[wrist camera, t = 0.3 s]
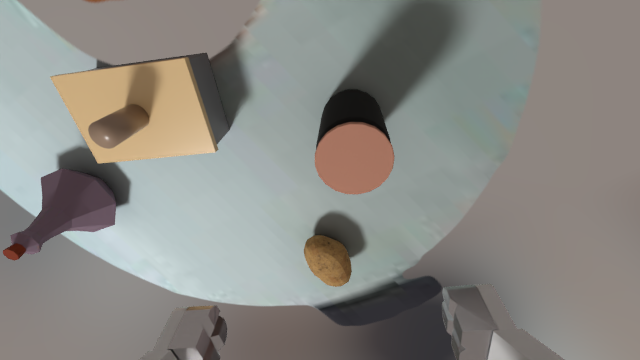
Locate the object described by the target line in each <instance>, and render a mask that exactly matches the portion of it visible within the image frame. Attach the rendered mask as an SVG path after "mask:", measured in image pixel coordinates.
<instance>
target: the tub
mask: <svg viewBox="0 0 640 360" xmlns="http://www.w3.org/2000/svg"><path fill="white" fill-rule="evenodd" d="M184 57H188V58H189V61H190V64H191V67H192V70H193V74H194V77H195V80H196V83H197V86H198V89H199V92H200V95H201V98H202V101H203V104H204V107H205V110H206V113H207V116H208V119H209V123H210V126H211V129H212V132H213V135H214V138H215V141H216V144H218V142H219V141H220V140H221V139H222V138H223V137H224V136H225V134H226V133H227V132H228V131H229V126H228V123H227V119H226V116H225V113H224V109H223V106H222V102H221V99H220V96H219V92H218V89H217V86H216V82H215V79H214V75H213V72H212V69H211V65H210V62H209V59H208V55H207V53H202V54H194V55H187V56H180V57H173V58H166V59H158V60H151V61H144V62H137V63H129V64H122V65H115V66H108V67H101V68H95V69H91V70H97V69H104V68H111V67H119V66H126V65H133V64H140V63H147V62H155V61H162V60H169V59H176V58H184ZM88 71H90V70H88Z"/></svg>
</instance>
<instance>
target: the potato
mask: <svg viewBox="0 0 640 360" xmlns="http://www.w3.org/2000/svg"><path fill="white" fill-rule="evenodd" d="M304 254H305V258H306V261H307V263H308V266H309V267H310V269H311V271H312V272H313V273H314V275H315V276H317V277H318V278H320V279H321V280H322V281H323V282H324V283H326V284H327V285H330V286H335V287H337V286H342V285H344V284H345V283H347V282H348V281H349V279H350V276H351V272H352V271H351V261H350V258H349V255H348V253H347V250H346V249H345V247H344V245H343V244H341V243H340V242H339V241H336V240H333V239H331V238H329V237H326V236H322V235H316V236H313V237H311V238H309V239H308V240H307V242H306V244H305V248H304Z"/></svg>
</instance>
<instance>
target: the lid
mask: <svg viewBox="0 0 640 360" xmlns="http://www.w3.org/2000/svg"><path fill="white" fill-rule="evenodd" d="M50 78H51V80H52V81H53V83H54V85H55V87H56V89H57V90H58V92H59V94H60V96H61V98H62V99H63V101H64V103H65V105H66V107H67V108H68V110H69V112H70V114H71V116H72V117H73V119H74V121H75V123H76V125H77V126H78V128H79V130H80V132H81V134H82V135H83V137H84V139H85V141H86V143H87V145H88V146H89V148H90V150H91V152H92V154H93V155H94V157H95V159H96V161H97V163H98V164H99V163H110V162H120V161H131V160H141V159H151V158H162V157H172V156H183V155H193V154H203V153H214V152H216V151H217V150H218V147H217V144H216V141H215V138H214V135H213V132H212V129H211V126H210V123H209V119H208V116H207V113H206V110H205V107H204V104H203V101H202V98H201V95H200V92H199V89H198V86H197V83H196V80H195V77H194V74H193V70H192V67H191V64H190V61H189V58H188V57H184V58H176V59H169V60H162V61H155V62H147V63H140V64H133V65H126V66H119V67H111V68H104V69H97V70H90V71H83V72H75V73H68V74H61V75H55V76H51V77H50Z"/></svg>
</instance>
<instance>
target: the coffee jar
mask: <svg viewBox="0 0 640 360" xmlns="http://www.w3.org/2000/svg"><path fill="white" fill-rule="evenodd" d="M393 164H394V152H393V148H392V145H391V142H390V138H389V134H388V131H387V128H386V125H385V122H384V119H383V116H382V113H381V110H380V107H379V105H378V104H377V102H376V101H375V99H374V98H373V97H371V96H370V95H369V94H368V93H366V92H363V91H360V90H345V91H342V92H339V93H337V94H336V95H335V96H333V97H332V98H331V99H330V100H329V101H328V103H327V104H326V105H325V108H324V111H323V114H322V118H321V124H320V129H319V134H318V140H317V145H316V153H315V167H316V169H317V172H318V175H319V176H320V178H321V179H322V180H323V181H324V183H325V184H326V185H328V186H329V187H331V188H332V189H334V190H335V191H339V192H342V193H345V194H361V193H366V192H370V191H371V190H373V189H375V188H377V187H379V186H380V185H381V184H382V183H383V182H384V181H385V180H386V179H387V178H388V176H389V174H390V172H391V171H392V169H393Z"/></svg>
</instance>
